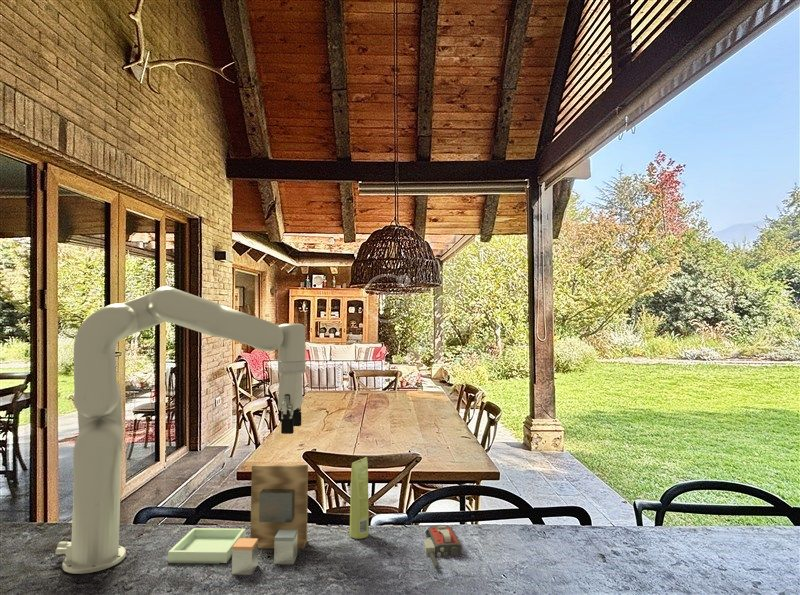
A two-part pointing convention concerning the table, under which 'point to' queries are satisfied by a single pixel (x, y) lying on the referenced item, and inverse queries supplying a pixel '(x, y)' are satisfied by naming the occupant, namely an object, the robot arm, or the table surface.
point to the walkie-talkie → (441, 543)
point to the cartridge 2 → (285, 546)
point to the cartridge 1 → (245, 556)
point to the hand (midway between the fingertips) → (291, 429)
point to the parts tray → (206, 546)
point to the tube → (359, 500)
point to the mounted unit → (279, 502)
